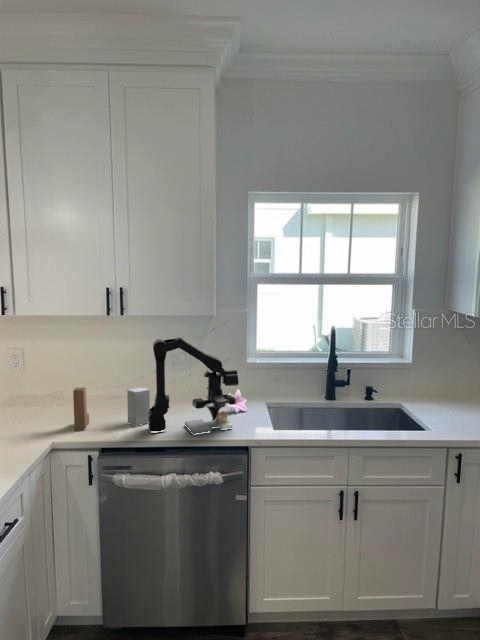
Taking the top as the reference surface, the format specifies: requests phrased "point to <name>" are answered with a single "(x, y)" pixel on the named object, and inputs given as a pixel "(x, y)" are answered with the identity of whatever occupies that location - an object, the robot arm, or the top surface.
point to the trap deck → (205, 425)
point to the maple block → (221, 417)
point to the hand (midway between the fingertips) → (213, 420)
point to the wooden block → (80, 409)
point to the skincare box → (138, 405)
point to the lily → (238, 402)
